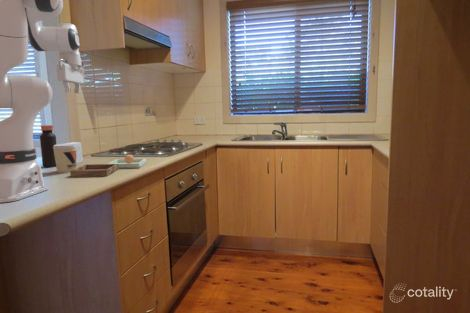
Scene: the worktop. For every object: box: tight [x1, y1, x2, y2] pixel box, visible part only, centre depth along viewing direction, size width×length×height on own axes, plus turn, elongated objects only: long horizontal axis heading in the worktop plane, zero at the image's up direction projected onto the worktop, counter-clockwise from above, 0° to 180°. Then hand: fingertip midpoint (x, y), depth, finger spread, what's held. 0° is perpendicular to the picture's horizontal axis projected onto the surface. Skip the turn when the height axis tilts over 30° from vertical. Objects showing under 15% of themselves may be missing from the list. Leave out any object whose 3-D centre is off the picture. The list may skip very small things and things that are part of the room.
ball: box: [124, 154, 135, 163], centre depth 164 cm, size 4×4×4 cm
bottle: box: [39, 124, 57, 168], centre depth 161 cm, size 7×7×20 cm
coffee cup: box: [53, 143, 77, 174], centre depth 148 cm, size 9×9×12 cm
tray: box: [107, 158, 147, 170], centre depth 161 cm, size 15×15×2 cm
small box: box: [64, 141, 84, 164], centre depth 171 cm, size 8×6×10 cm
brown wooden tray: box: [69, 163, 119, 178], centre depth 144 cm, size 16×15×2 cm
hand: (72, 92), depth 152 cm, fingers open, 8 cm apart
